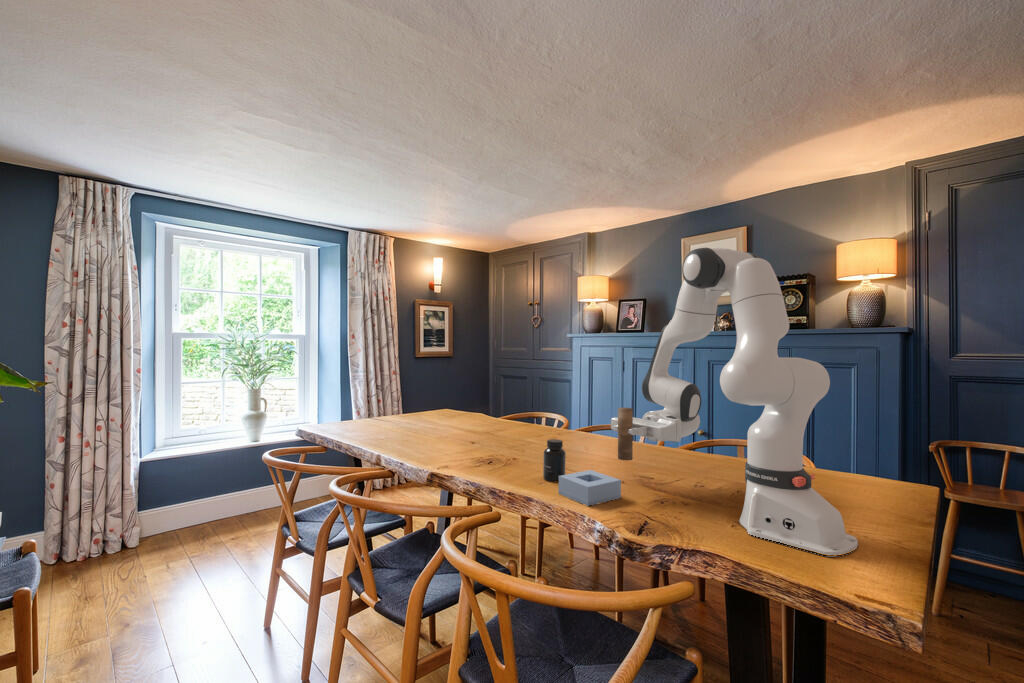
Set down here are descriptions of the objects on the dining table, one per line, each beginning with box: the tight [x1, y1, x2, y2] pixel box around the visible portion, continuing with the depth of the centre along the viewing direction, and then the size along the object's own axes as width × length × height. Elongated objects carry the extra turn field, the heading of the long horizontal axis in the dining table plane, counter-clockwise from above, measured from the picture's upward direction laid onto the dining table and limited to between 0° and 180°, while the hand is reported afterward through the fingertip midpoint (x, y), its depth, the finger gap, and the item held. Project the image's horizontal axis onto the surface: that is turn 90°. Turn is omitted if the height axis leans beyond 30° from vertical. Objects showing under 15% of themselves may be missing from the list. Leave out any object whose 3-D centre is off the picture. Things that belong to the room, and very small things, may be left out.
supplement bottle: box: [542, 438, 567, 482], centre depth 143 cm, size 7×7×12 cm
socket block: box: [558, 469, 622, 507], centre depth 127 cm, size 12×12×5 cm
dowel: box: [617, 407, 634, 461], centre depth 129 cm, size 4×4×14 cm
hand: (622, 430), depth 128 cm, fingers closed on dowel, 4 cm apart
